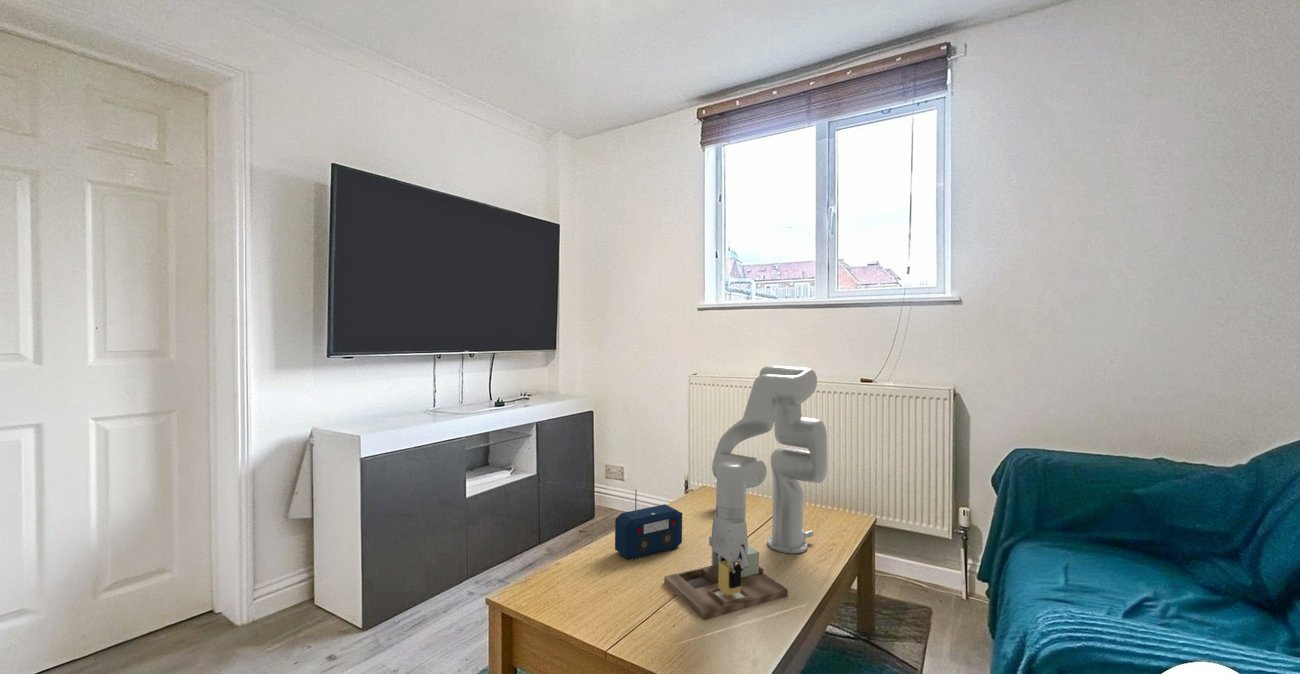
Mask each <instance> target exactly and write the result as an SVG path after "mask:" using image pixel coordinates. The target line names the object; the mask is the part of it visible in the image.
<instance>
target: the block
mask: <svg viewBox="0 0 1300 674" xmlns="http://www.w3.org/2000/svg"><path fill="white" fill-rule="evenodd" d="M737 564H738V563H737V562H735V566H736V565H737ZM730 572H731V564H730V562H729V561H727V560H725V561H720V562H719V578H718V588H719V589H720V590H721V591H723V592H724V593H725V594H726V595H731V594H735V593H738V592H740V591H741V586H739V587H736V588H730V587H729V573H730Z"/></svg>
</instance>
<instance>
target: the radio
mask: <svg viewBox="0 0 1300 674" xmlns="http://www.w3.org/2000/svg"><path fill="white" fill-rule="evenodd" d="M637 493H638V491H637V488H636V489H635V498H634V504H635V505H634V510H629V511H626V512H622V513H620V514H619V515H618V516H616V517H615V519H614V521H615V522H614V523H615V524H614V550H615V551H617V552H618V553H619V554H620V555H622V556H623V557H624V558H626V559H628V560H631V559H633V560H636V559H635V558H637V559H640V558H643V557H647V556H653V555H655V554H659V553H662V552H667V551H671V550H675V549H677V548H678V547H679V546H680V545H681V544H682V543H683V512H681V511H679V510H678V509H675V508H673V507H672V506H670V505H667V504H661V505H660V504H659V505H655V506H651V507H650V506H649V507H644V508H640V509H637ZM639 557H640V558H639Z"/></svg>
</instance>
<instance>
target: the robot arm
mask: <svg viewBox="0 0 1300 674" xmlns="http://www.w3.org/2000/svg"><path fill="white" fill-rule="evenodd" d="M817 386H818V376H817V373H816V372H815V370H814V369H812V368H810V367H802V366H786V365H769V366H768V365H766V366H764V367H762V368H761V369H760V371H759V375H758V376H757V377H756V378H755V379H754V381H753V383H752V386H751V390H750V393H749V396H748V397H749V398H748V399H747V402H746V406H745V410H744V413H743V417H742V418H741V419H740V420H738V421H736V423H734V424H733V425H732V426H731V427H729V428H728V429H727V430H726V432H724V433H723V434H722V436H721V437H720V439H719V441H718V443H717V446H716V450H715V452H714V456H713V458H712V459H713V460H712V466H711V471H712V475H713V476H714V477H715V480H716V482H715V486H716V490H715V493H716V494H715V513H714V516H713V521H712V526H711V527H712V528H711V536H712V539H711V546H710V547H711V550H712V549H713V551H715V552H716V554H717V557H718V558H717V562H718V563H719V562H720V561H725V560H727V561H729V562H730V564H731V572H730V573H729V587H730V588H736V587H739V586H741V572H742V571H743V569H744V568H746V567H748V566H749V564H748V561H747V555H748V546H749V540H748V528H747V521H746V518H747V517H746V514H747V513H746V511H747V509H746V507H747V489H750V488H751V489H752V488H755V487H758V486H760V485H762V484H763V482H764V481H765V479H766V477H767V471H768V470H767V467H766V463H765V462H764V461H763V460H761V459H760V458H757V457H754V456H747V455H743V454H741V455H740V454H736V453H732V452H733V451H734V449H735V448H736V447H737V446H738V444H740V443H741V442H744V441H745V440H748V439H751V438H754V437H758V436H761V435H764V434H767V433H769V432H770V431H771V430H772V429H773V428H774V429H773V430H774V438H775V440H776V441H777V443H778V444H780V445H783V446H788V447H779V448H776V449H774V450H773V452H772V453H771V455H770V469H771V475H772V476H771V477H772V521H771V522H772V523H771V524H772V525H771V526H772V530H771V531H772V532H771V536H769V537H768V538H767V542H766V543H767V546H768V547H769V548H770V549H772V550H774V551H776V552H779V553H785V554H800V553H804V552H805V550H806V549H807V550H808V543H807V541H806V539H808V538H812V537H813V536H814V535H815V534H814V532H813V530H807V531H805V530H804V528H803V527H804V491H803V487H802V486H801V484H800V482H799V481H801V482H807V483H812V484H821V483H823V482H824V481H825V480H826V477H827V474H828V473H827V472H828V444H827V442H828V441H827V439H828V437H827V428H826V425H825V424H824V422H823V421H822V420H820V419H817V418H812V417H805V416H803V414H802V404H804V402H806V401H807V400H808V399H809V398H810V397H811V396H813V394H814V393H815V392H816V388H817ZM789 446H790V447H789ZM791 447H795V448H791ZM797 448H799V449H797ZM800 448H803V449H807V450H803V449H800ZM807 550H806V551H807ZM735 562H738V564H737V565H736V566H735ZM718 578H719V572H718Z"/></svg>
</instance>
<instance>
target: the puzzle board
mask: <svg viewBox="0 0 1300 674" xmlns="http://www.w3.org/2000/svg"><path fill="white" fill-rule="evenodd" d="M718 572H719V564H718V565H714V566H713V565H712V564H711V565H708V566H705V567H704V566H703V567H700V568H695V569H690V570H687V571H682V572H679V573H675V574H670V575H666V576H665V575H664V577H663V578H664V579H663V582H664V585H665V586H667V588H669V589H670V590H671V591H672V592H673V593H674V594H675V595H676V596H677V597H678V598H680V600H681V601H683V602H684V604H686V605H687V606H688V607H689V608H690V609H691V610H692V611H693V612H694V613H696V615H698V617H699V618H701V620H703V621H706V620H711V619H713V618H716V617H717V618H718V617H720V616H724V615H727V614H731V613H734V612H737V611H741V610H745V609H748V608H752V607H754V606H755V607H757V606H758V605H763V604H765V603H766V604H767V603H769V602H773V601H776V600H779V599H783V598H787V597H788V592H789V591H788V590H789V589H788V588H786V587H785V586H784V585H782V584H780V582H777V581H776V580H774V579H773V578H771V577H770V576H769V575H767V574H765V573H764V568H763V567H761V566H760V565H759V573H757V574H753V575H749V576H745V577H741V591H740V592H738V593H735V594H731V595H726V594H725V593H724V592H723V591H721V590H720V589H719V588H718Z"/></svg>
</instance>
